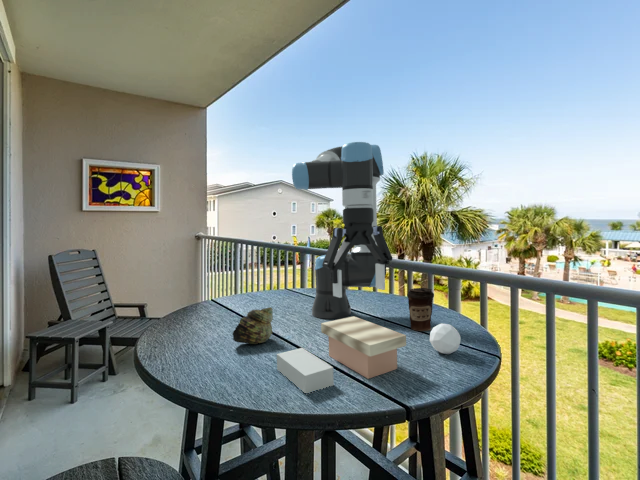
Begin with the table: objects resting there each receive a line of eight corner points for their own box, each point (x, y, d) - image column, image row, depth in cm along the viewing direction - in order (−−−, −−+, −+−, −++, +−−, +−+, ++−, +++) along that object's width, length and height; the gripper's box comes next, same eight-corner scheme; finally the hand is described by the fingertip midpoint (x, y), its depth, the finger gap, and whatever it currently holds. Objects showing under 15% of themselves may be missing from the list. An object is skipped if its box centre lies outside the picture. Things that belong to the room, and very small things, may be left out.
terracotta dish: (329, 355, 89) (328, 333, 88) (355, 348, 93) (355, 327, 93) (368, 378, 75) (367, 352, 75) (397, 368, 80) (396, 344, 80)
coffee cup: (436, 333, 104) (435, 292, 103) (408, 332, 105) (408, 291, 105) (432, 325, 112) (432, 286, 111) (407, 324, 114) (406, 286, 113)
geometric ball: (453, 364, 88) (467, 346, 83) (423, 352, 89) (435, 334, 84) (453, 341, 94) (466, 324, 89) (425, 331, 95) (436, 313, 90)
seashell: (238, 337, 106) (236, 306, 105) (274, 335, 107) (273, 304, 106) (232, 349, 95) (230, 315, 95) (272, 347, 96) (271, 313, 96)
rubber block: (277, 370, 81) (276, 354, 81) (302, 363, 84) (302, 347, 84) (305, 394, 69) (305, 375, 69) (333, 385, 73) (333, 367, 72)
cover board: (321, 332, 90) (321, 323, 89) (353, 324, 95) (353, 316, 95) (370, 356, 73) (369, 345, 72) (406, 345, 78) (406, 335, 78)
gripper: (323, 206, 73) (326, 303, 74) (405, 206, 86) (406, 288, 87) (306, 208, 79) (309, 297, 80) (385, 207, 92) (386, 284, 93)
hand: (359, 292), depth 84 cm, fingers open, 13 cm apart
